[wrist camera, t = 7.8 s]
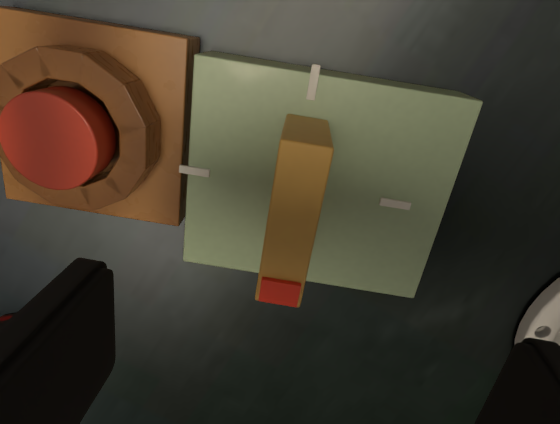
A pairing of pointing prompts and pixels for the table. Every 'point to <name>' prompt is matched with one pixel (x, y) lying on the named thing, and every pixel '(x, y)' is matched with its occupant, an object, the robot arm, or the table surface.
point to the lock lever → (294, 209)
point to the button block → (108, 107)
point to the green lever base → (343, 172)
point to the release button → (57, 136)
